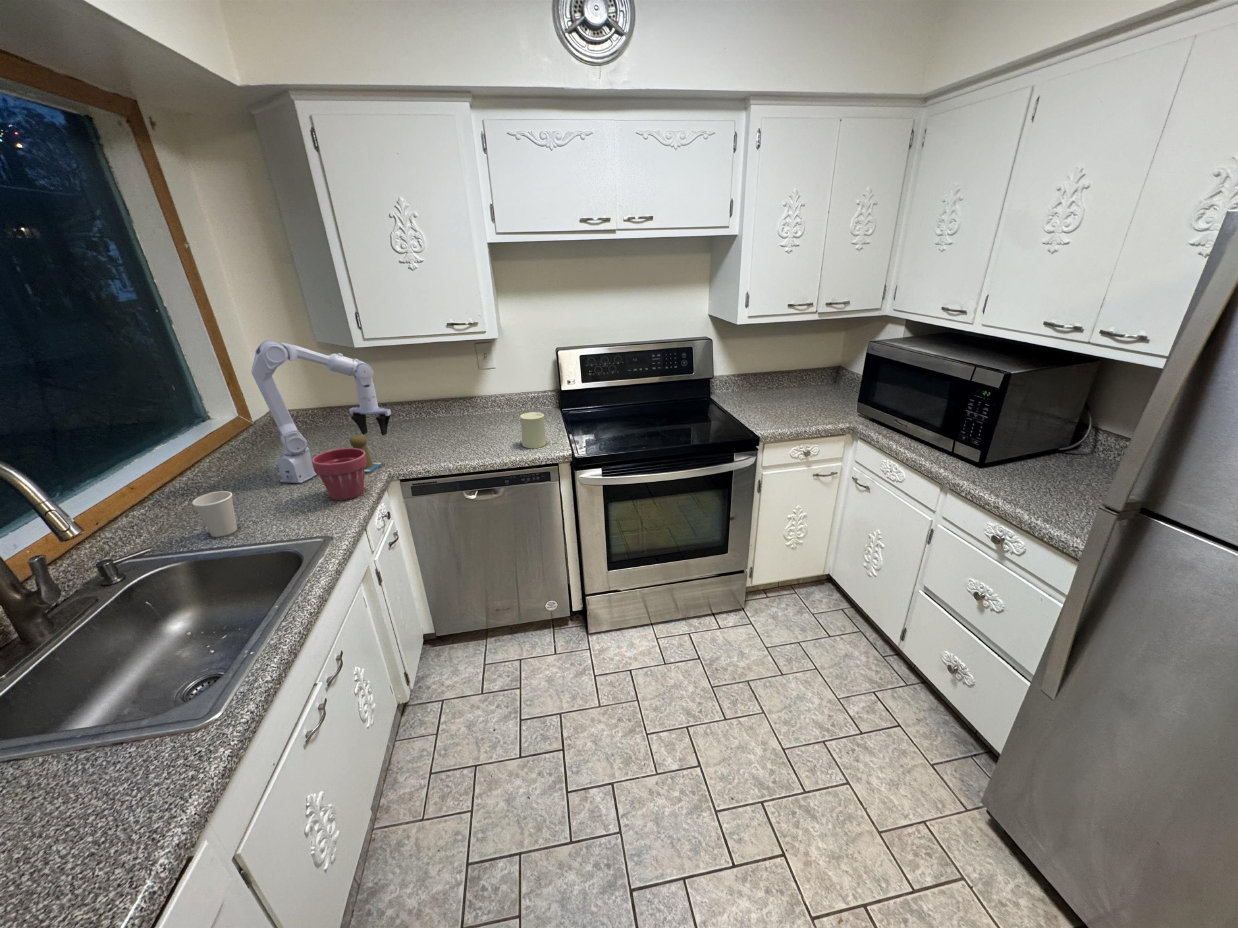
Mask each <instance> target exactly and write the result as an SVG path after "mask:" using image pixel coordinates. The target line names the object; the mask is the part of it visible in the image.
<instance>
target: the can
mask: <svg viewBox="0 0 1238 928" xmlns="http://www.w3.org/2000/svg"><path fill="white" fill-rule="evenodd" d="M519 420H520V430H521V445H522V447H524V448H527V449H537V448H542V447H544V446H546V445H547V441H546V439H547V438H546V429H545V428H546V427H545V414H544V413H542V412H538V411H530V412H529V411H528V412H524V413H522V414H520V415H519Z"/></svg>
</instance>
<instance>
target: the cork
mask: <svg viewBox="0 0 1238 928" xmlns="http://www.w3.org/2000/svg"><path fill="white" fill-rule="evenodd" d="M349 444H350V446H351V447H352V448H357V449H361V450H364V451H365V453H366V458H367V465H366V466H365V469H368V468H370V467H372V466H373V460H372V457H371V454H370V452H369V449H368V445H367V444H368V439H367V437H366V436H365V435H364V434H357V435H353V436H351V437H350V439H349Z"/></svg>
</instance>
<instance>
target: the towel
mask: <svg viewBox="0 0 1238 928" xmlns="http://www.w3.org/2000/svg"><path fill="white" fill-rule="evenodd" d="M372 462H373V461H372ZM383 464H384V463H383V462H376V461H375V462H373V466H372V467H370V468H368V469H364V474H370V473H372V472H374V471H375V470H377V469H378V468H380V467H381V466H383Z"/></svg>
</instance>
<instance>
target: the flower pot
mask: <svg viewBox="0 0 1238 928" xmlns="http://www.w3.org/2000/svg"><path fill="white" fill-rule="evenodd" d="M311 459H312V464H313V468H314V472H315V473H316V474H317V475H318V476H319V477H320V480H321V481H322V483H323V486H324V487H325V489H326V490H327V493H328V495H329V496H330V498H331V499H332V500H335V501H347V500H352V499H355V498H358V497H360V496H362V495H363V494H364V492H365V491H364V490H365V489H364V488H365V473H364V469H365V466H366V465H367V458H366V453H365V451H364V450H361V449H357V448H353V447H342V448H334V449H330V450H326V451H322V452H320V453H318V454H316V455H315V456H313V457H312V458H311Z"/></svg>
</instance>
